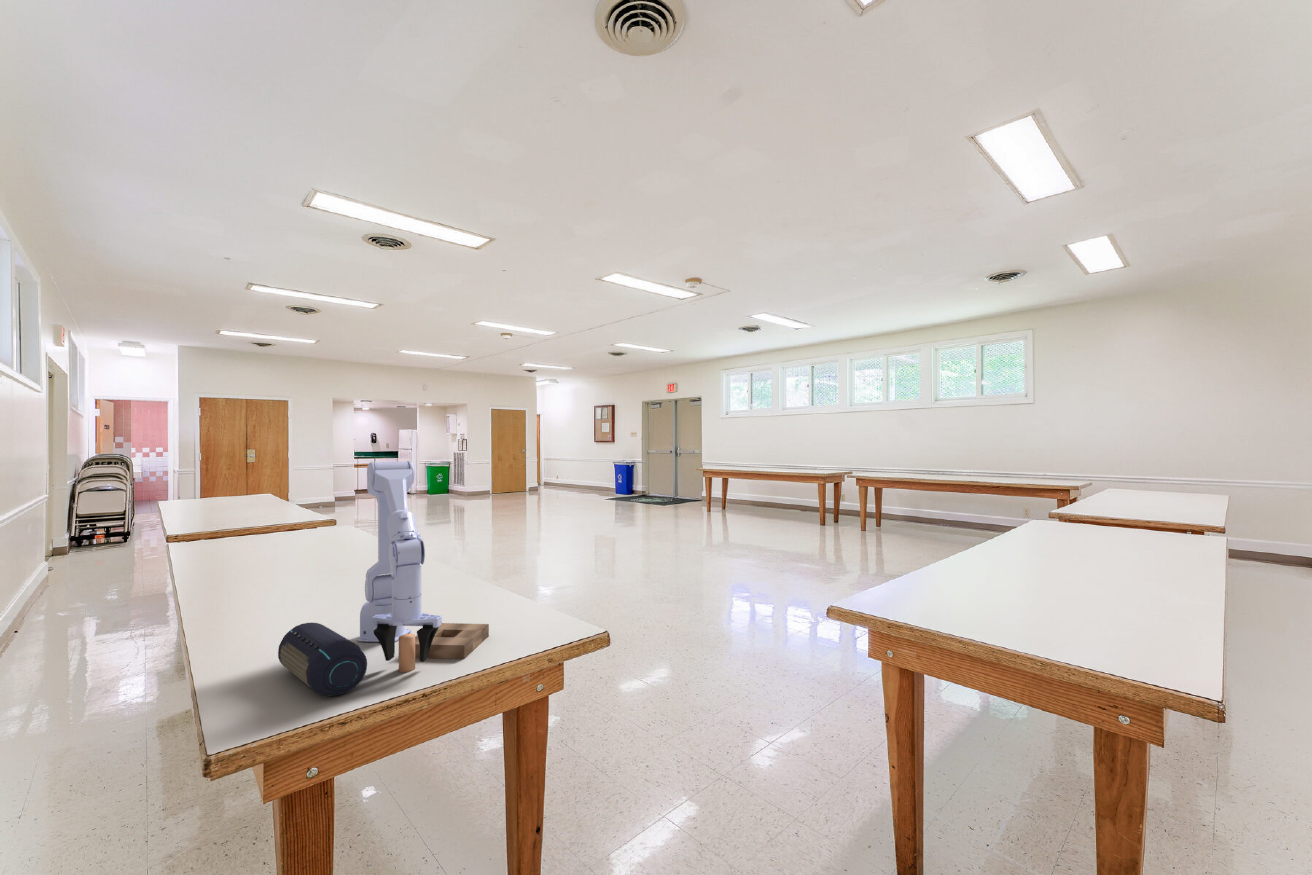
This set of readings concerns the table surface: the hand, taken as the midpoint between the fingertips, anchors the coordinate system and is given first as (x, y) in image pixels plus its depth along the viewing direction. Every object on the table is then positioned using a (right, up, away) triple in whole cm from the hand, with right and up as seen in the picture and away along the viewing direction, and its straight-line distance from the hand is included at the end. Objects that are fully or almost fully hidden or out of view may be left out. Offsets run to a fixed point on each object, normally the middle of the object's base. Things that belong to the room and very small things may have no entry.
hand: (407, 659), depth 114 cm
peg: (0, -2, 0) cm, 2 cm away
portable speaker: (-15, -2, -5) cm, 16 cm away
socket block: (+4, -2, +13) cm, 13 cm away
